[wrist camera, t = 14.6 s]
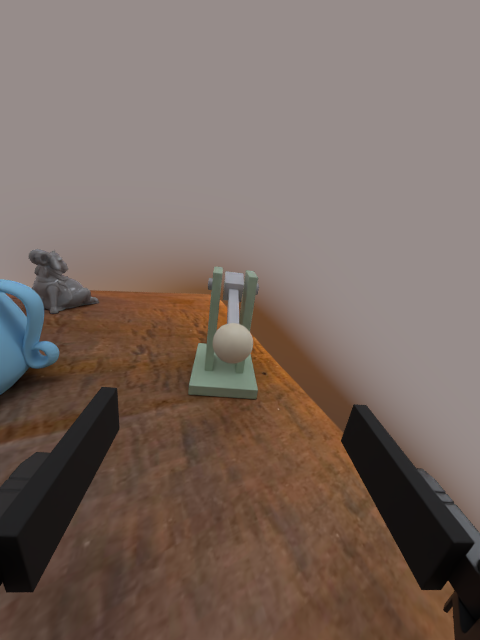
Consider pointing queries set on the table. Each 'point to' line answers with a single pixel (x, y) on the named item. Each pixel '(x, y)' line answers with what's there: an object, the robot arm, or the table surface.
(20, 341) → the teapot
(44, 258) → the figurine
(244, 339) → the knob lever
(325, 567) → the table surface
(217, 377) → the green lever stand
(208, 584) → the table surface
